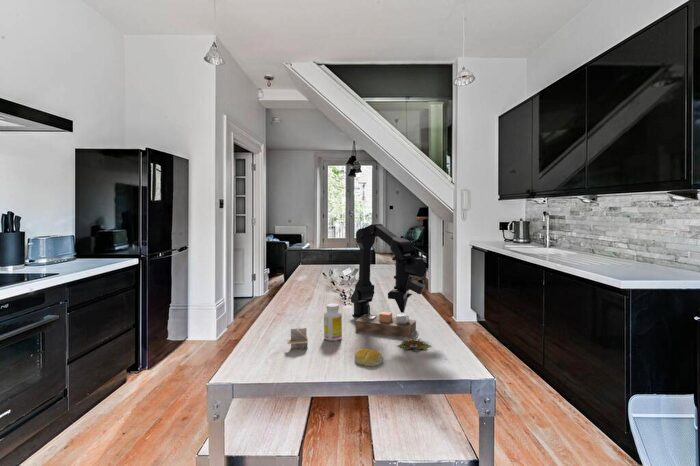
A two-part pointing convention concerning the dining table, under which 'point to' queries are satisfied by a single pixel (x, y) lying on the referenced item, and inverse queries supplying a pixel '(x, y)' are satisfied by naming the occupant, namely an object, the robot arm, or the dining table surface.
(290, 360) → the dining table surface
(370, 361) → the bread roll
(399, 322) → the grey block
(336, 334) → the supplement bottle
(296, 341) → the architectural model
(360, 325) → the console
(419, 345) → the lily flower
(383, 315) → the orange cube
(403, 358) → the dining table surface
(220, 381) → the dining table surface
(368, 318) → the grey cube
